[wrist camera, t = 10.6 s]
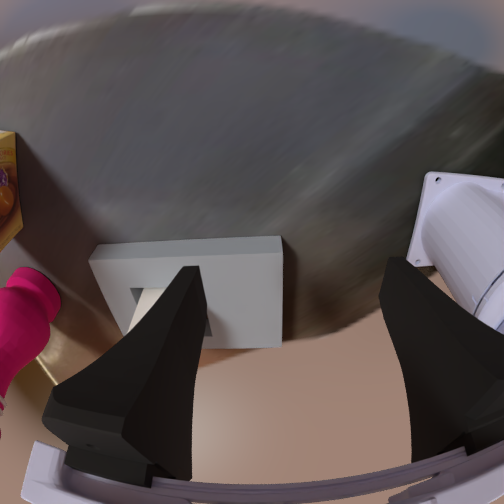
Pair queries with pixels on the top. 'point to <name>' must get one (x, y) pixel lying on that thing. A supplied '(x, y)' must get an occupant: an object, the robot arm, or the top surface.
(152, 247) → the plate
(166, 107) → the top surface
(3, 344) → the pepper mill
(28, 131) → the top surface
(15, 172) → the candy box
